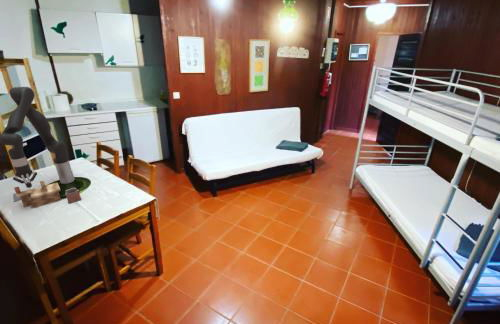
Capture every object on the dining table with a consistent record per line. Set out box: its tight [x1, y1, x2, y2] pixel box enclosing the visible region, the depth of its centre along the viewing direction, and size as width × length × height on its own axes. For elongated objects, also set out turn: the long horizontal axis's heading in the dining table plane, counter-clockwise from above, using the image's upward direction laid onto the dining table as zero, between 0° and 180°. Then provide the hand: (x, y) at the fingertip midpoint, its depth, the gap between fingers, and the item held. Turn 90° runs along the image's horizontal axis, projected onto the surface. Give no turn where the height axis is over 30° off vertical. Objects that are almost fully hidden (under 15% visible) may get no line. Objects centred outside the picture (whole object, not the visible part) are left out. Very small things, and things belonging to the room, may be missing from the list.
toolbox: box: [20, 191, 62, 209], centre depth 177 cm, size 20×12×8 cm, turn 131°
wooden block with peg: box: [13, 186, 32, 197], centre depth 170 cm, size 8×2×6 cm, turn 131°
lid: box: [30, 180, 61, 199], centre depth 177 cm, size 16×12×6 cm
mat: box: [12, 192, 21, 202], centre depth 187 cm, size 18×12×1 cm, turn 131°
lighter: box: [64, 187, 82, 204], centre depth 178 cm, size 8×3×10 cm, turn 134°
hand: (29, 187), depth 171 cm, fingers closed
